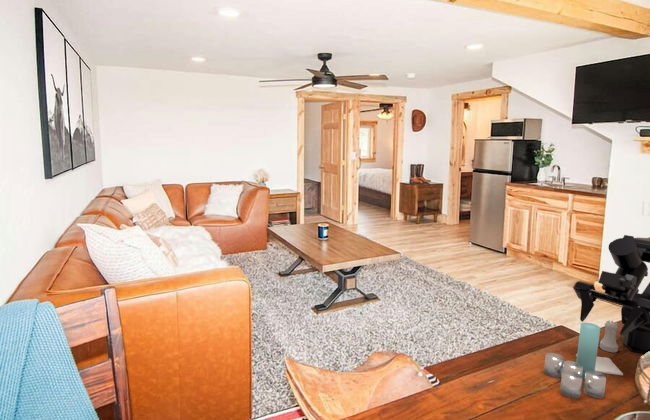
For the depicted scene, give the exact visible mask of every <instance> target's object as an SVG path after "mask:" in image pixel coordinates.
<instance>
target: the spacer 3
mask: <svg viewBox="0 0 650 420" xmlns="http://www.w3.org/2000/svg"><path fill="white" fill-rule="evenodd" d="M606 384H607V376H606V375H605V374H604V373H600V372H597V371H592V370H588V371H586V373H585V379H584V383H583V389H582V390H583V393H584V394H585V395H587V396H589V397H591V398H595V399H603V398H604V397H605V391H606Z"/></svg>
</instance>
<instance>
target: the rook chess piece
mask: <svg viewBox="0 0 650 420" xmlns="http://www.w3.org/2000/svg"><path fill="white" fill-rule="evenodd" d="M604 326H605V328H604V331H605V332H604V336H603V337H602V339H601V340H599V341H600V342H599V344H598V347H599V348H600V349H601V350H602V351H605V352H608V353H612V354H613V353H617V352H618V351H619V345H618V342H617V338H616V336H617V333H618V331H617V330H618V329H619V326H618V323H617V322H616V321H615V322H614V320H611V321H610V320H606V322H605V323H604Z"/></svg>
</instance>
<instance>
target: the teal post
mask: <svg viewBox="0 0 650 420" xmlns="http://www.w3.org/2000/svg"><path fill="white" fill-rule="evenodd" d="M600 332H601V327H600V326H599V325H598V324H594V323H590V322H581V323H580V329H579V335H578V336H579V337H578V345H577V353H576V354H577V357H576V361H575V362H577V363H579V364H581V365H582V366H583V372H582V378H583V379H582V380H585V373H586V371H588V370H592V371H595V366H596V358H597V357H598V350H599V348H598V347H599V344H600V342H599V341H600V334H601V333H600Z"/></svg>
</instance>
